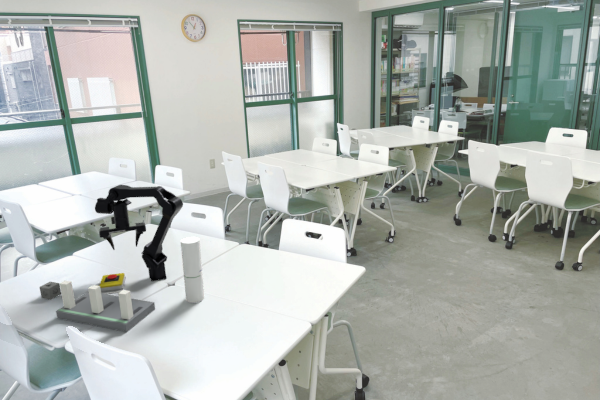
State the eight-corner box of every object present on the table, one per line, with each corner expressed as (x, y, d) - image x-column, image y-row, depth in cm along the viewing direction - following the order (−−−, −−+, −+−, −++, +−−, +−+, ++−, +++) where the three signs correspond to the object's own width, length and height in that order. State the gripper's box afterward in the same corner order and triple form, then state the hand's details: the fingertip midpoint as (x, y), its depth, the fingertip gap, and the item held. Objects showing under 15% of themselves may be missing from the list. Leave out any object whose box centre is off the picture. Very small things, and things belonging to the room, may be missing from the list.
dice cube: (41, 298, 176) (39, 286, 175) (51, 292, 181) (49, 281, 179) (51, 299, 174) (49, 288, 173) (61, 294, 179) (59, 283, 178)
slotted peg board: (89, 297, 175) (84, 268, 172) (155, 309, 166) (151, 278, 163) (57, 318, 161) (51, 286, 157) (127, 332, 152) (122, 298, 148)
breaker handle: (97, 308, 161) (93, 285, 158) (103, 310, 160) (100, 286, 157) (92, 312, 158) (88, 288, 156) (98, 313, 157) (95, 289, 155)
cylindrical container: (207, 295, 176) (203, 237, 169) (198, 304, 169) (193, 244, 163) (192, 293, 178) (187, 235, 171) (182, 301, 172) (176, 242, 165)
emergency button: (125, 268, 193) (121, 283, 179) (126, 277, 194) (122, 293, 180) (102, 271, 190) (96, 286, 177) (103, 280, 192) (98, 296, 178)
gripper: (142, 206, 198) (146, 238, 202) (97, 211, 191) (102, 245, 196) (144, 213, 188) (148, 247, 193) (97, 219, 181) (102, 253, 186)
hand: (125, 248), depth 192 cm, fingers open, 9 cm apart
